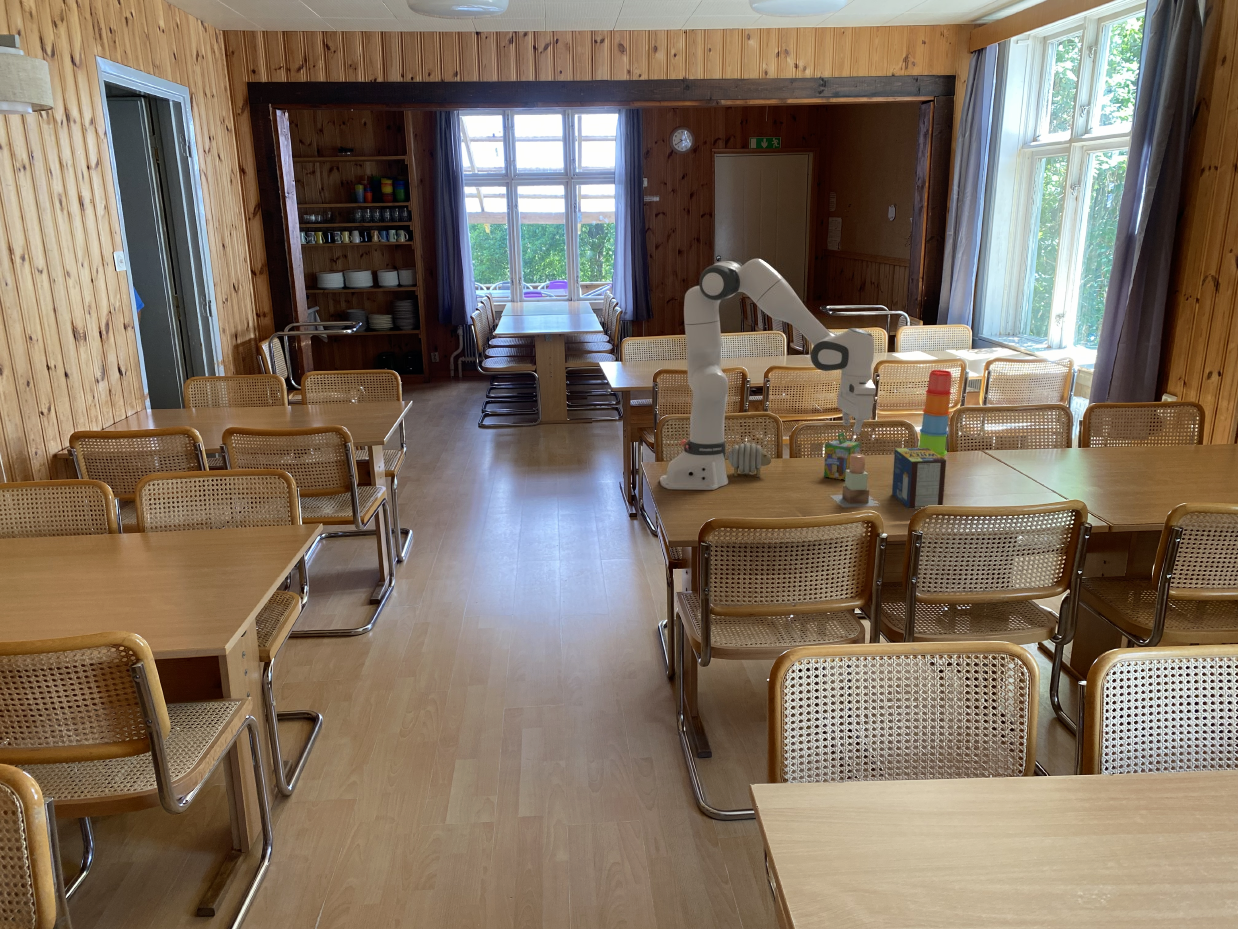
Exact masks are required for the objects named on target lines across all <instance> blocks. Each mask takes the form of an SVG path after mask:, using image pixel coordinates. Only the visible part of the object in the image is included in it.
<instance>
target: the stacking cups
mask: <svg viewBox="0 0 1238 929" xmlns="http://www.w3.org/2000/svg"><path fill="white" fill-rule="evenodd" d="M952 376H953V374H952V372H951V371H949V370H944V369H943V370H942V369H934V370H933V369H932V370H931V371H930V372H929V376H928V382H927V383H928V384H927V390H925V393H926V396H925V403H924V404H925V405H924V409H922V413H923V416H922V422H921V428H920V429H919V433H920V434H919V442H918V447H917V448H929V449H930V450H932V451H933V452H935V453H936V454H938V455H939V456H941V457H942V458H944V459H945V457H946V455H947V454H948V452H947V450H946V447H947V446H946V445H947V435H948V434H949V430H948V425H949V423H948V422H949V415H950V414H951V412H950V411H949V410H950V400H951V395H952V391H951V387H952V386H951V385H952V378H953V377H952Z"/></svg>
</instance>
